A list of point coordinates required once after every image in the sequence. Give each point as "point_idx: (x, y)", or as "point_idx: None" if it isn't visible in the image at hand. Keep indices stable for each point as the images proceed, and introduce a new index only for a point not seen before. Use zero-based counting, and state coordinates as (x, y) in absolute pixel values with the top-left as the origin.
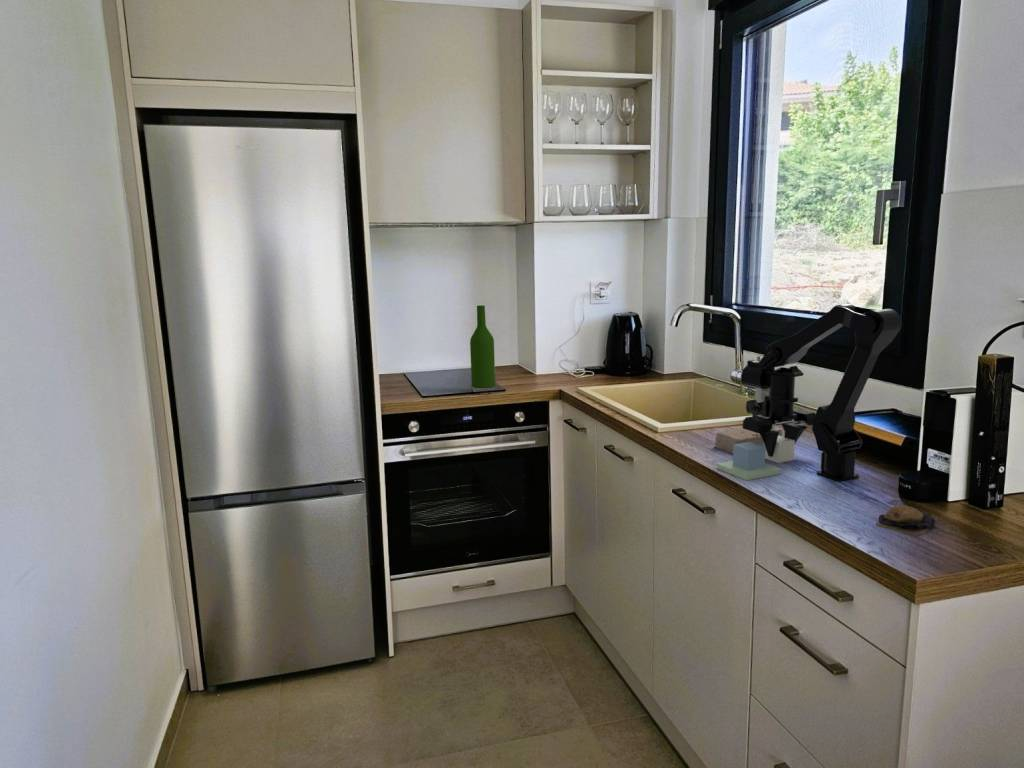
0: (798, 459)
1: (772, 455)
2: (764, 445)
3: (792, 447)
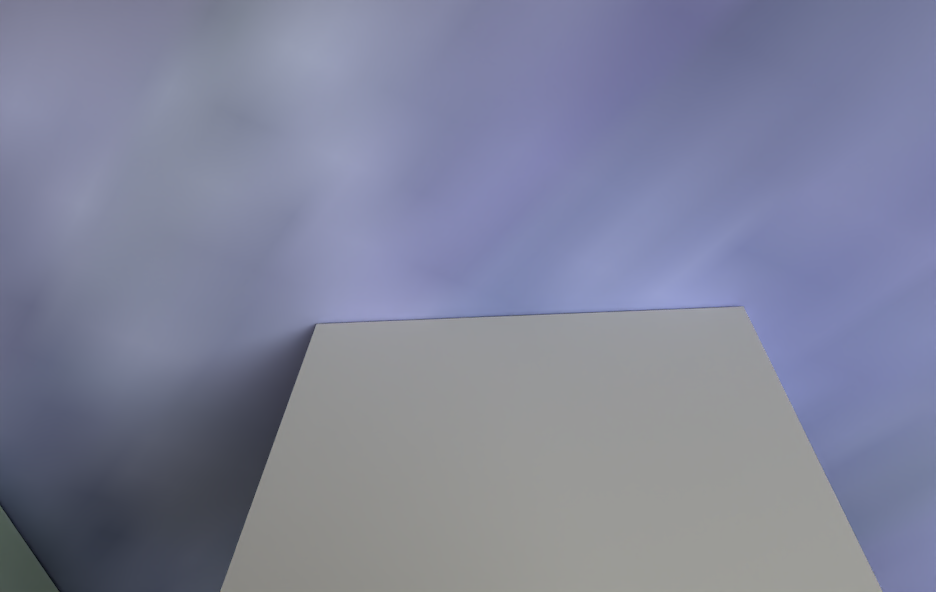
0: None
1: None
2: (242, 569)
3: None
